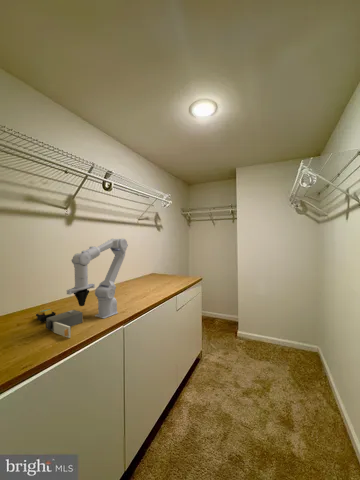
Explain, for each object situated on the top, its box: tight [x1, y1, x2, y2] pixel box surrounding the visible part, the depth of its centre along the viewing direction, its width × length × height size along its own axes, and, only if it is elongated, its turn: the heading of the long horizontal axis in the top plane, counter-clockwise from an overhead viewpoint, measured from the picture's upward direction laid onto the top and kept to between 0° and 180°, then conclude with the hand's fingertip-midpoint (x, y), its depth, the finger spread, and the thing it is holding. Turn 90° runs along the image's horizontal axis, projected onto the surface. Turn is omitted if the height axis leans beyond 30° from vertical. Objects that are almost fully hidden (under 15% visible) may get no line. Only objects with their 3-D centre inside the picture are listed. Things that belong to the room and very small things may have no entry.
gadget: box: [35, 308, 57, 323], centre depth 105 cm, size 6×13×6 cm, turn 47°
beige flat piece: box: [52, 322, 72, 339], centre depth 86 cm, size 12×2×4 cm, turn 60°
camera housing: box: [45, 309, 84, 332], centre depth 97 cm, size 14×8×6 cm, turn 147°
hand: (81, 305), depth 98 cm, fingers closed
